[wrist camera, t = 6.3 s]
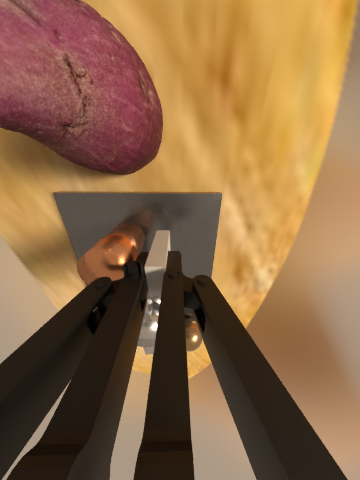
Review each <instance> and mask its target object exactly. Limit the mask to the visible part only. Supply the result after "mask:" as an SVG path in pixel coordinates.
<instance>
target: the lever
mask: <svg viewBox="0 0 360 480" xmlns="http://www.w3.org/2000/svg"><path fill="white" fill-rule="evenodd" d="M144 243H145V235H144V232H143V230H142V229H141V228H140V227H139V226H137V225H136V224H134V223H130V222H123V223H120V224H118V225H117V226H116V227H114V228H113V229H112V230H111V231H110V232H109V233H108V234H107V235H105V236H104V237H103V238H102V239H101V240H100V241H99V242H98V243H97V244H95V245H94V246H93V247H92V248H91V249H90V250H89V251H88V252H86V253H85V254H84V255H83V256H82V257H81V258H80V260H79V262H78V266H77V267H78V273H79V275H80V277H81V278H82V279H83V280H84V281H85V282H86V283H87V284H88V285H89V284H90V283H91V282H92V281H94V280H95V279H97V278H100V277H109V278H111V280H112V281H115V280H119V279H122V278H123V277H124V272H123V268H122V265H123V264H124V263H126V262H128V261H132V260H136V259H137V256H138V255H139V254H140V252H141V250H142V248H143V245H144ZM159 307H160V304H158V303H155V302H152V299H151V296H149V295H148V293H147V305H146V309H145V314H144V318H143V322H142V327H141V331H140V335H139V340H138V344H137V346H140V347H143V348H144V350H145V353H146V354H154V346H155V339H156V331H157V323H158V315H159Z"/></svg>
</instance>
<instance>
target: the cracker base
mask: <svg viewBox="0 0 360 480" xmlns="http://www.w3.org/2000/svg"><path fill="white" fill-rule="evenodd" d="M53 194H54V197H55V200H56V202H57V205H58V208H59V211H60V213H61V216H62V219H63V222H64V224H65V227H66V230H67V233H68V235H69V238H70V241H71V244H72V246H73V249H74V252H75V255H76V257H77V260H78V262H79V260H80V258H81V257H82V256H83V255H84V254H85V253H86V252H88V251H89V250H90V249H91V248H92V247H93V246H94V245H95V244H97V243H98V242H99V241H100V240H101V239H102V238H103V237H104V236H105V235H107V234H108V233H109V232H110V231H111V230H112V229H113V228H114V227H116V226H117V225H118V224H120V223H123V222H130V223H134V224H136V225H137V226H139V227H140V228H141V229H142V230H143V232H144V235H145V243H144V245H143V248H142V250H141V252H150V249H151V246H152V243H153V240H154V237H155V234H156V232H157V230H170V251H179V252H180V253H181V261H182V273H183V274H184V275H185V276H186V277H189V278H194V277H195V276H197V275H206V276H208V277H210V278H211V276H212V268H213V260H214V253H215V245H216V237H217V230H218V222H219V214H220V207H221V199H222V193H220V192H55V193H53ZM141 252H140V253H141ZM86 285H87V286H88V284H87V283H86ZM151 299H152V302H155V303H158V304H160V299H161V296H151ZM96 309H97V308H95V310H96ZM184 314H185V333H186V351H194V350H196V349H197V348H198V347H199V346H200V344H201V342H202V336H201V333H200V331H199V328H198V325H197V323H196V320H195V318H194V315H193V312H192V309H190V308H186V307H184Z"/></svg>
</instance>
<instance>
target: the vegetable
mask: <svg viewBox="0 0 360 480" xmlns="http://www.w3.org/2000/svg"><path fill="white" fill-rule="evenodd" d="M0 127H1V128H4V129H7V130H11V131H15V132H20V133H22V134H25V135H27V136H29V137H31V138H33V139H35V140H37V141H38V142H40V143H42V144H43V145H44V144H45V145H46V146H47V147H49V148H50V149H52V150H53V151H54V152H56V153H57V154H59V155H60V156H62V157H64V158H66V159H68V160H69V161H71V162H73V163H75V164H78V165H81V166H84V167H87V168H90V169H93V170H97V171H101V172H106V173H116V174H131V173H134V172H136V171H138V170H140V169H141V168H143V167H144V166H145V165H147V164H148V163H149V162H151V161H152V160H153V159H154V158H155V157H156V155H157V153H158V150H159V147H160V143H161V138H162V128H163V117H162V108H161V104H160V100H159V97H158V94H157V92H156V89H155V87H154V84H153V82H152V79H151V77H150V75H149V73H148V71H147V69H146V67H145V65H144V63H143V62H142V60H141V59H140V57H139V55H138V54H137V52H136V51H135V49H134V48H133V47H132V46H131V45H130V43H129V42H128V41H127V40H126V39H125V37H124V36H123V35H122V34H121V33H120V32H119V31H118V30H117V29H116V28H115V27H114V26H113V25H112V24H111V23H110V22H109V21H108V20H106V19H105V18H103V17H101V16H100V14H99V13H98V12H97V11H96V10H95V9H93V8H92V7H91V6H90V5H88V4H87V3H85V2H83V1H81V0H0ZM45 145H44V146H45Z"/></svg>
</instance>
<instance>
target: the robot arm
mask: <svg viewBox="0 0 360 480" xmlns="http://www.w3.org/2000/svg"><path fill="white" fill-rule="evenodd" d="M122 268H123V272H124V277H123V278H122V279H119V280H115V281H112V280H111V278H109V277H100V278H97V279H95V280H94V281H92V282H91V283H90V284H89V285H88V286H87V287H86V288H84V289H83V290H82V291H81V292H80V293H79V294H78V295H77V296H76V297H74V298H73V299H72V300H71V301H70V302H69V303H68V304H67V305H66V306H64V307H63V308H62V309H61V310H60V311H59V312H58V313H57V314H56V315H55V316H53V317H52V318H51V319H50V320H49V321H48V322H47V323H46V324H44V325H43V326H42V327H41V328H40V329H39V330H38V331H37V332H36V333H34V334H33V335H32V336H31V337H30V338H29V339H28V340H27V341H26V342H25V343H23V344H22V345H21V346H20V347H19V348H18V349H17V350H15V351H14V352H13V353H12V354H11V355H10V356H9V357H8V358H7V359H5V360H4V361H3V362H2V363H1V364H0V480H2V478H3V476H4V475H5V474H6V473H7V471H8V470H9V468H10V467H11V465H12V464H13V463H14V461H15V460H16V458H17V457H18V455H19V454H20V452H21V451H22V450H23V448H24V446H25V445H26V444H27V442H28V441H29V439H30V438H31V437H32V435H33V433H34V432H35V431H36V429H37V428H38V426H39V425H40V423H41V422H42V421H43V419H44V417H45V416H46V415H47V413H48V412H49V411H50V409H51V408H52V406H53V405H54V403H55V402H56V400H57V399H58V398H59V396H60V395H61V393H62V392H63V390H64V389H65V387H66V386H67V385H68V383H69V382H70V380H71V382H70V383H69V385H68V388H67V389H66V391H65V393H64V395H63V397H62V399H61V401H60V403H59V405H58V407H57V409H56V411H55V413H54V415H53V417H52V419H51V421H50V423H49V425H48V427H47V429H46V431H45V432H44V434H43V436H42V438H41V439H40V441H39V442H38V443H37V444H36V445H35V446H34V447H33V448H32V449H31V450H30V451H29V452H27V453H26V454H25V455H24V456H23V457H22V458H21V460H20V461H19V462H18V463H17V465H16V466H15V467H14V469H13V470H12V472H11V473H10V475H9V476H8V478H7V480H109V478H110V463H111V456H112V452H113V448H114V443H115V439H116V435H117V430H118V426H119V422H120V417H121V413H122V409H123V404H124V400H125V396H126V391H127V387H128V383H129V378H130V374H131V370H132V365H133V361H134V357H135V352H136V348H137V344H138V340H139V335H140V331H141V327H142V322H143V318H144V314H145V309H146V305H147V293H148V295H149V296H161V299H160V307H159V315H158V323H157V331H156V339H155V346H154V354H153V362H152V370H151V379H150V385H149V393H148V401H147V409H146V417H145V426H144V432H143V438H142V443H141V446H140V449H139V452H138V457H137V462H136V467H135V474H134V480H194V465H193V452H192V442H191V428H190V409H189V390H188V371H187V352H186V333H185V314H184V307H186V308H190V309H192V312H193V315H194V318H195V320H196V323H197V325H198V328H199V331H200V333H201V336H202V338H203V341H204V344H205V346H206V349H207V351H208V354H209V357H210V359H211V362H212V364H213V367H214V369H215V372H216V375H217V378H218V380H219V383H220V385H221V388H222V390H223V393H224V395H225V398H226V401H227V404H228V406H229V409H230V411H231V414H232V416H233V419H234V422H235V424H236V427H237V430H238V432H239V435H240V437H241V440H242V442H243V445H244V448H245V451H246V453H247V456H248V458H249V461H250V464H251V466H252V469H253V471H254V474H255V476H256V479H257V480H347V478H346V477H345V475H344V474H343V472H342V471H341V469H340V468H339V466H338V465H337V463H336V462H335V460H334V459H333V457H332V456H331V454H330V453H329V452H328V450H327V449H326V447H325V446H324V444H323V443H322V441H321V440H320V438H319V437H318V435H317V434H316V433H315V431H314V430H313V428H312V426H311V425H310V424H309V422H308V421H307V419H306V418H305V416H304V415H303V413H302V412H301V410H300V409H299V407H298V406H297V404H296V403H295V401H294V400H293V398H292V397H291V395H290V394H289V393H288V391H287V390H286V388H285V387H284V385H283V384H282V382H281V381H280V379H279V378H278V377H277V375H276V373H275V372H274V370H273V369H272V367H271V366H270V364H269V363H268V362H267V360H266V359H265V357H264V356H263V354H262V353H261V351H260V350H259V348H258V347H257V345H256V344H255V342H254V341H253V339H252V338H251V336H250V335H249V334H248V332H247V331H246V329H245V328H244V326H243V325H242V323H241V322H240V320H239V319H238V317H237V316H236V314H235V313H234V311H233V310H232V308H231V307H230V305H229V304H228V303H227V301H226V300H225V298H224V297H223V295H222V294H221V292H220V291H219V289H218V288H217V286H216V285H215V283H214V282H213V280H212V279H211V278H210V277H208V276H206V275H197V276H195V277H194V278H189V277H186V276H185V275H184V274H183V273H182V261H181V253H180V252H179V251H170V230H157V232H156V234H155V237H154V240H153V243H152V246H151V249H150V252H141V253H140V254H139V255H138V256H137V259H136V260H132V261H128V262H126V263H124V264H123V265H122ZM95 308H97V309H96V310H95ZM94 310H95V311H94Z"/></svg>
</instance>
